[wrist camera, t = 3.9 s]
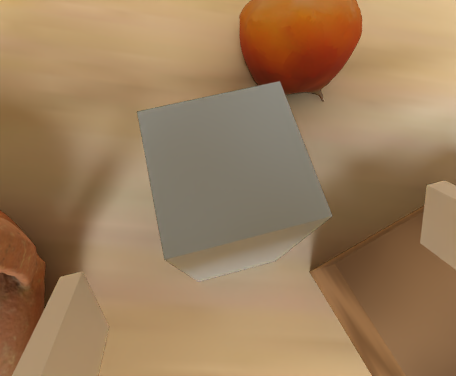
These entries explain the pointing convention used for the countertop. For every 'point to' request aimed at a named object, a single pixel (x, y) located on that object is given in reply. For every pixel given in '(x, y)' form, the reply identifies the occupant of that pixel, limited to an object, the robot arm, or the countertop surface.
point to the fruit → (299, 41)
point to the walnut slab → (395, 301)
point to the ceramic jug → (18, 292)
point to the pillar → (230, 180)
